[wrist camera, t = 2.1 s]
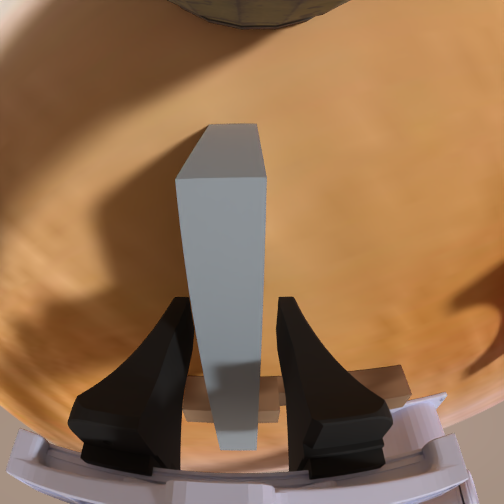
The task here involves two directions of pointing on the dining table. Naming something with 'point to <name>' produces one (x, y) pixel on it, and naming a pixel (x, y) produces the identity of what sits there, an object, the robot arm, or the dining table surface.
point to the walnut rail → (273, 396)
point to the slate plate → (226, 271)
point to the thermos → (257, 11)
